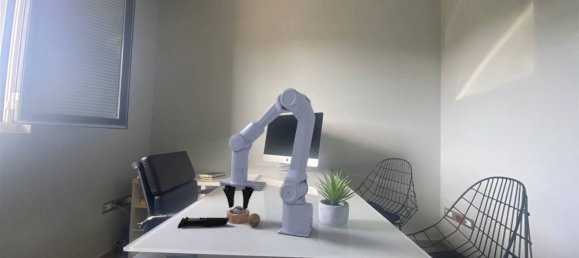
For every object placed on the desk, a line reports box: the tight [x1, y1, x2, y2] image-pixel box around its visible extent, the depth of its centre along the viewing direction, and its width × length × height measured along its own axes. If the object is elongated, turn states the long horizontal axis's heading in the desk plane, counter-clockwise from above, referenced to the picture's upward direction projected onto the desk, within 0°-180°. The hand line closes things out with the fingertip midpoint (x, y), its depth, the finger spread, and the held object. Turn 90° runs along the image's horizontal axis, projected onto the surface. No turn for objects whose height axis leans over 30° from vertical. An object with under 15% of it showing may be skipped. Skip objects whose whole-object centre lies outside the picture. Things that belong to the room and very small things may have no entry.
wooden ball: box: [247, 212, 261, 228], centre depth 75 cm, size 4×4×4 cm
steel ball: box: [232, 205, 244, 214], centre depth 81 cm, size 4×4×4 cm
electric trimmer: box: [177, 216, 229, 229], centre depth 74 cm, size 4×16×3 cm, turn 96°
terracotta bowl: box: [225, 208, 251, 224], centre depth 81 cm, size 8×8×3 cm
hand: (238, 208), depth 81 cm, fingers open, 5 cm apart
